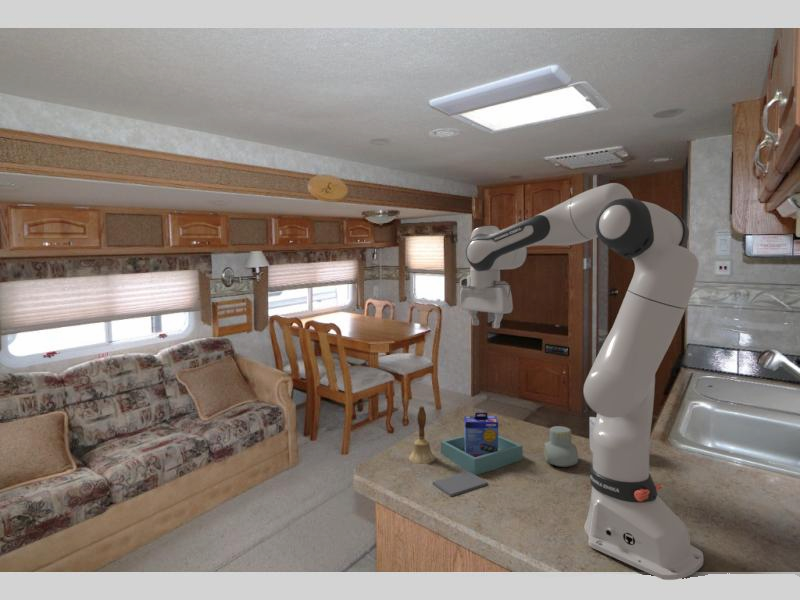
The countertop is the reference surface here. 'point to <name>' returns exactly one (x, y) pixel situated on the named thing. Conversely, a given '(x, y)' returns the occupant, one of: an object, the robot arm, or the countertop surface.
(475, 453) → the ink cartridge box
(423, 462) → the hand bell
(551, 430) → the air freshener
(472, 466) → the bin
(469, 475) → the mat
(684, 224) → the robot arm
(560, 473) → the countertop surface
